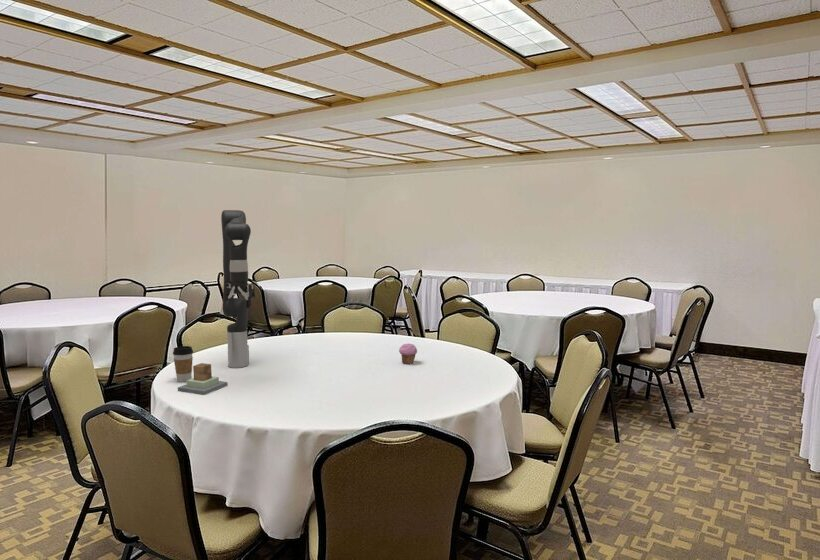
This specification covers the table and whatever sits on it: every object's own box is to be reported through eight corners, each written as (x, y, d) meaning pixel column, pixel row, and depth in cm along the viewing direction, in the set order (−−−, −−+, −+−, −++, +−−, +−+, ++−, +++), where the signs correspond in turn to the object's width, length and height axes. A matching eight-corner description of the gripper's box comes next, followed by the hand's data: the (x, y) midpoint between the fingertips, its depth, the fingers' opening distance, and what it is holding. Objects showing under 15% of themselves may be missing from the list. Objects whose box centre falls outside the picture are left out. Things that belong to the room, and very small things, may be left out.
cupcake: (396, 364, 274) (396, 344, 273) (404, 360, 281) (404, 340, 280) (412, 366, 270) (412, 346, 269) (420, 362, 277) (420, 342, 276)
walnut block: (202, 376, 237) (201, 363, 236) (211, 377, 235) (211, 364, 234) (193, 379, 232) (193, 365, 231) (203, 381, 230) (202, 367, 230)
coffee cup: (172, 383, 240) (171, 349, 239) (175, 378, 248) (173, 345, 247) (193, 382, 242) (191, 348, 241) (195, 376, 251) (194, 344, 249)
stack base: (201, 381, 243) (201, 372, 243) (227, 385, 238) (227, 376, 237) (177, 390, 230) (177, 381, 230) (204, 394, 225) (204, 385, 224)
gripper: (258, 270, 238) (259, 307, 239) (231, 269, 243) (232, 305, 245) (246, 271, 231) (248, 310, 233) (219, 270, 236) (220, 308, 238)
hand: (240, 307), depth 239 cm, fingers open, 8 cm apart
